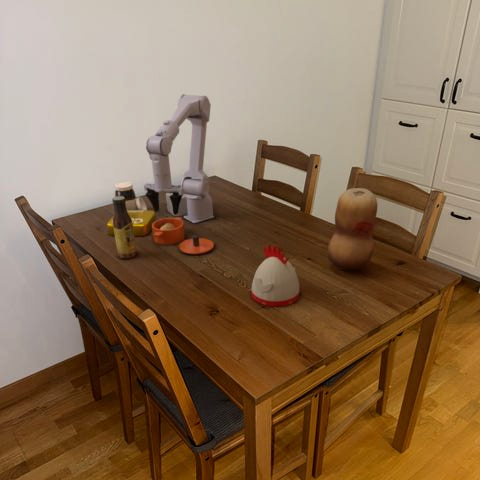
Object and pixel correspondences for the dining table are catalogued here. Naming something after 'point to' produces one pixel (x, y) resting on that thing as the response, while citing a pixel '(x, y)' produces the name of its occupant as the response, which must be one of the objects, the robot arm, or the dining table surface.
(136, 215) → the yellow square tin
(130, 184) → the spread jar
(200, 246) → the pot lid
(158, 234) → the pot
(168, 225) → the potato
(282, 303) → the kitchen timer
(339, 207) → the butternut squash
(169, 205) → the lumpy-topped squat cylinder
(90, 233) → the dining table surface
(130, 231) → the sauce bottle
